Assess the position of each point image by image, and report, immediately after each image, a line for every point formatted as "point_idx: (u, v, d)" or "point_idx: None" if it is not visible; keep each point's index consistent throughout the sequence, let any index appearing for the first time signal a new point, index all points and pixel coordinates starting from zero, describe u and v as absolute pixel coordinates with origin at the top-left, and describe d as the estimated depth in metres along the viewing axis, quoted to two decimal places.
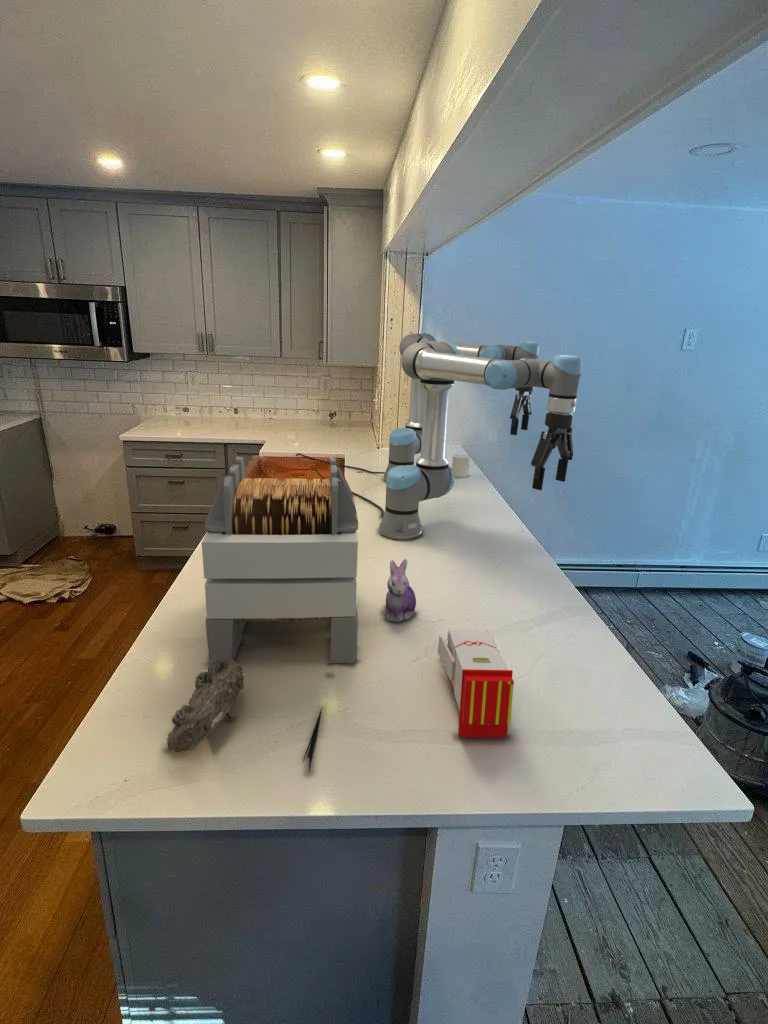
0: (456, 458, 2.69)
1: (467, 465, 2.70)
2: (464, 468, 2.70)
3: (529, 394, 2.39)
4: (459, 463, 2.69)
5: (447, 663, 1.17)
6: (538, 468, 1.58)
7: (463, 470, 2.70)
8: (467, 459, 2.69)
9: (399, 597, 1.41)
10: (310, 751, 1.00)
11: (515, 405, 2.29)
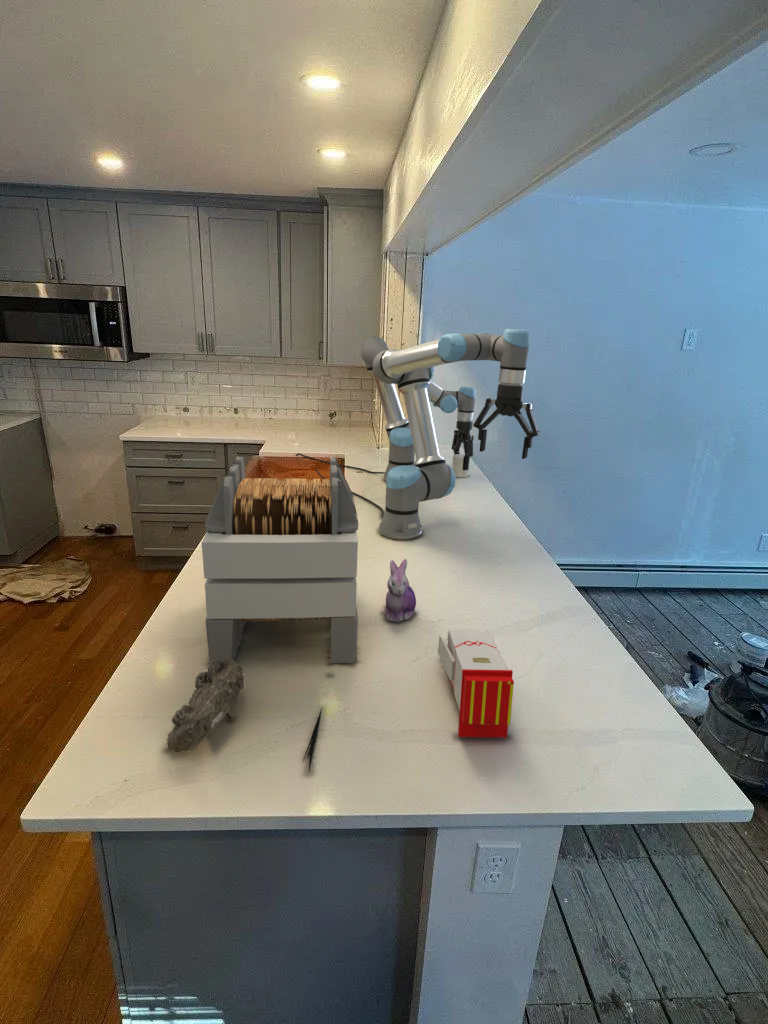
0: (456, 458, 2.69)
1: None
2: None
3: None
4: (459, 463, 2.69)
5: (447, 663, 1.17)
6: (532, 437, 1.68)
7: (463, 470, 2.70)
8: None
9: (399, 597, 1.41)
10: (310, 751, 1.00)
11: (469, 445, 2.63)
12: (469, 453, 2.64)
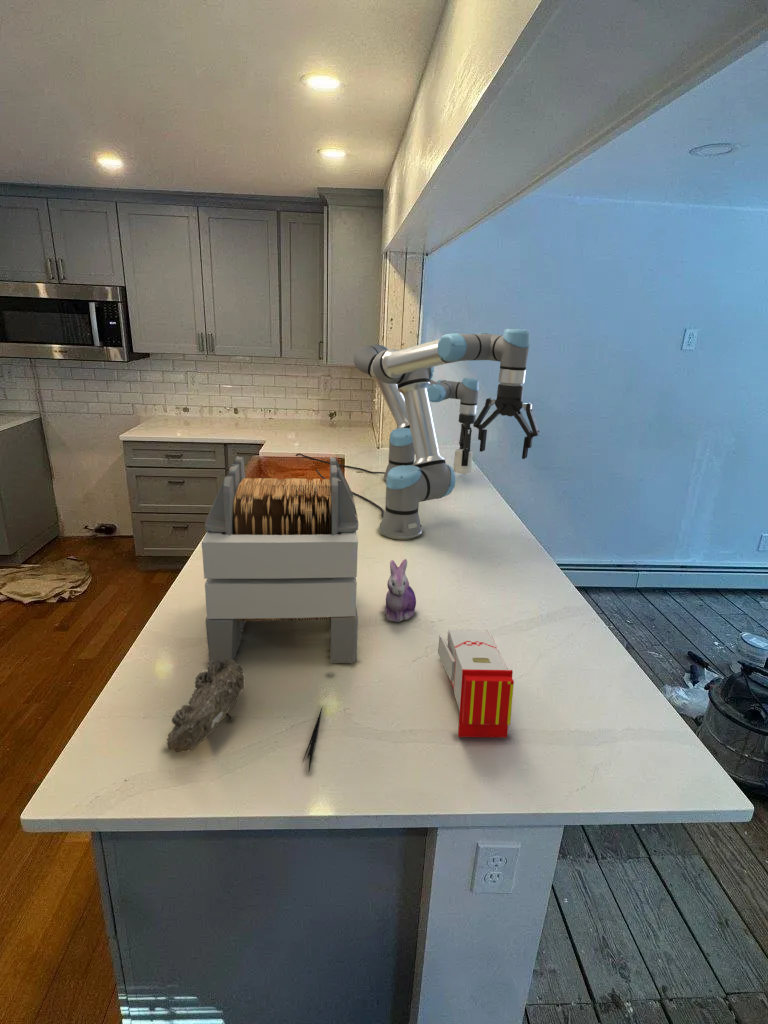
0: (456, 452, 2.57)
1: None
2: None
3: None
4: (458, 458, 2.56)
5: (447, 663, 1.17)
6: (532, 437, 1.68)
7: (462, 466, 2.57)
8: None
9: (399, 597, 1.41)
10: (310, 751, 1.00)
11: (466, 440, 2.49)
12: (465, 448, 2.50)
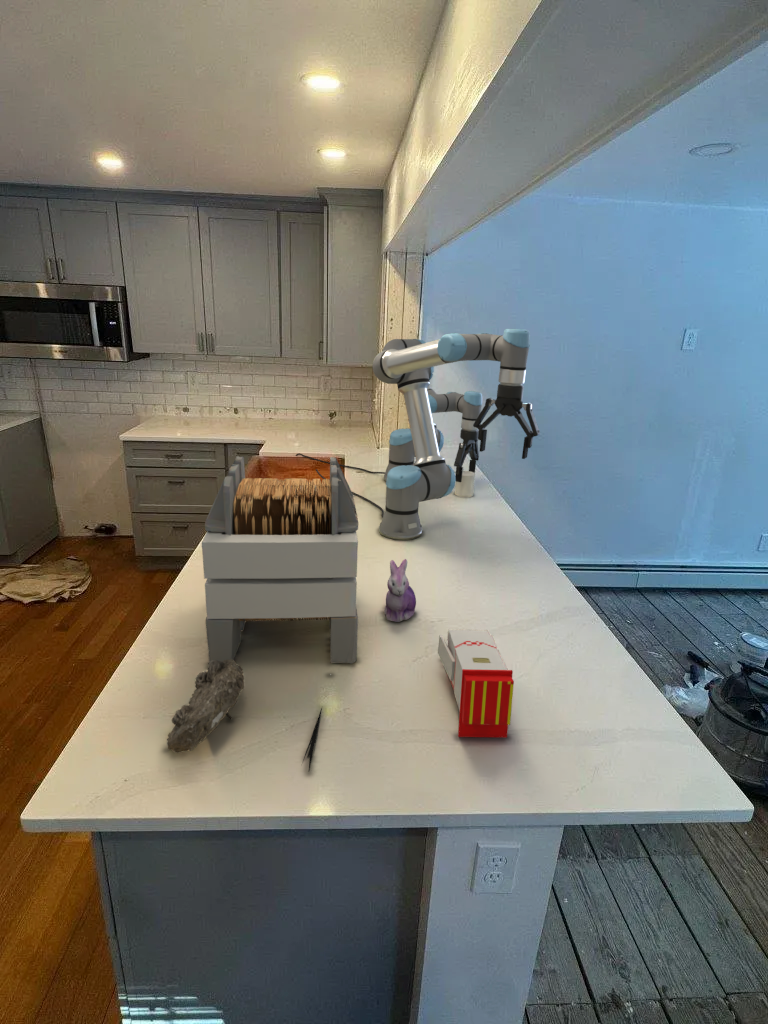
0: None
1: (464, 484, 2.41)
2: (459, 486, 2.42)
3: (475, 441, 2.43)
4: None
5: (447, 663, 1.17)
6: (532, 437, 1.68)
7: (458, 488, 2.42)
8: (463, 477, 2.40)
9: (399, 597, 1.41)
10: (310, 751, 1.00)
11: (458, 453, 2.34)
12: (455, 462, 2.34)
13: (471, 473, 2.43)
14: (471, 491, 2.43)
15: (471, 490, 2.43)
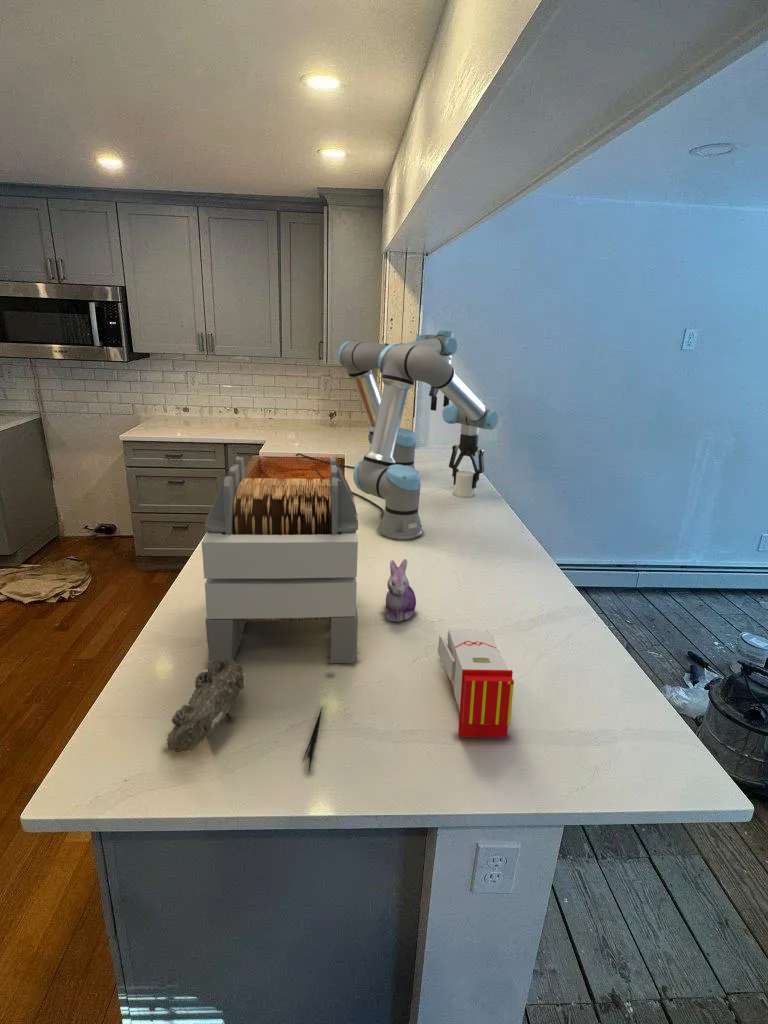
0: (456, 473, 2.44)
1: (464, 484, 2.41)
2: (459, 486, 2.42)
3: None
4: (456, 479, 2.43)
5: (447, 663, 1.17)
6: (479, 473, 2.40)
7: (458, 488, 2.42)
8: (463, 477, 2.40)
9: (399, 597, 1.41)
10: (310, 751, 1.00)
11: None
12: (430, 392, 2.69)
13: (471, 473, 2.43)
14: (471, 491, 2.43)
15: (471, 490, 2.43)
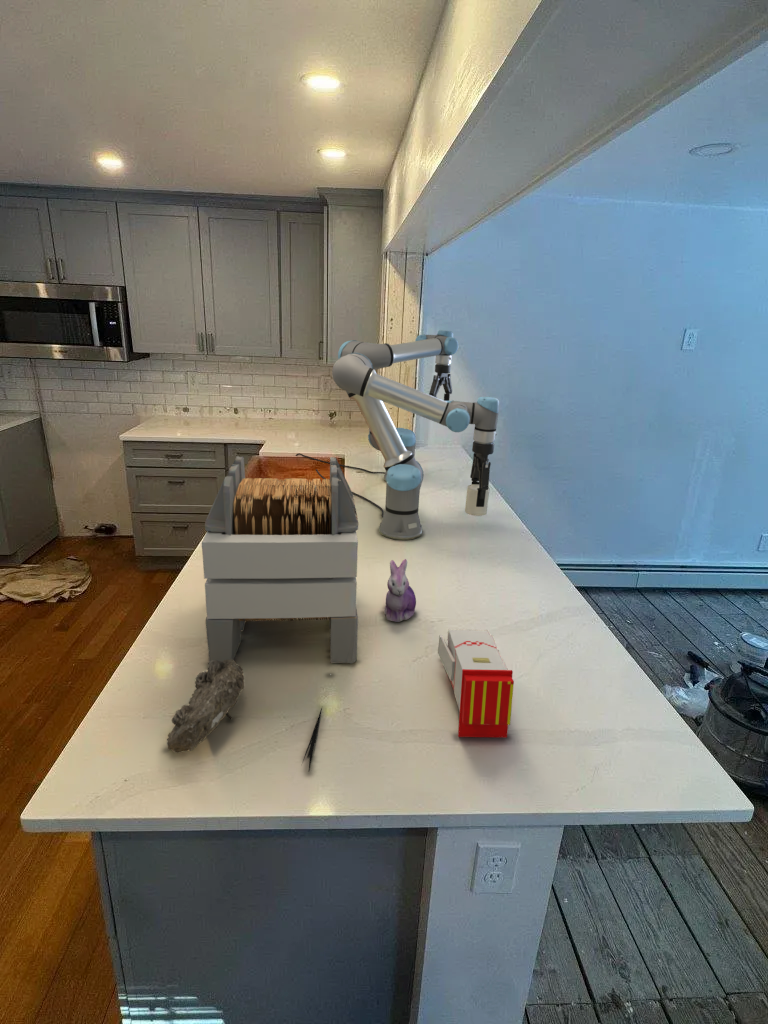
0: None
1: (468, 498, 2.06)
2: (466, 500, 2.08)
3: (448, 376, 2.78)
4: None
5: (447, 663, 1.17)
6: (484, 490, 2.00)
7: None
8: (468, 490, 2.05)
9: (399, 597, 1.41)
10: (310, 751, 1.00)
11: (433, 384, 2.69)
12: (430, 392, 2.69)
13: None
14: (476, 509, 2.05)
15: (476, 508, 2.05)
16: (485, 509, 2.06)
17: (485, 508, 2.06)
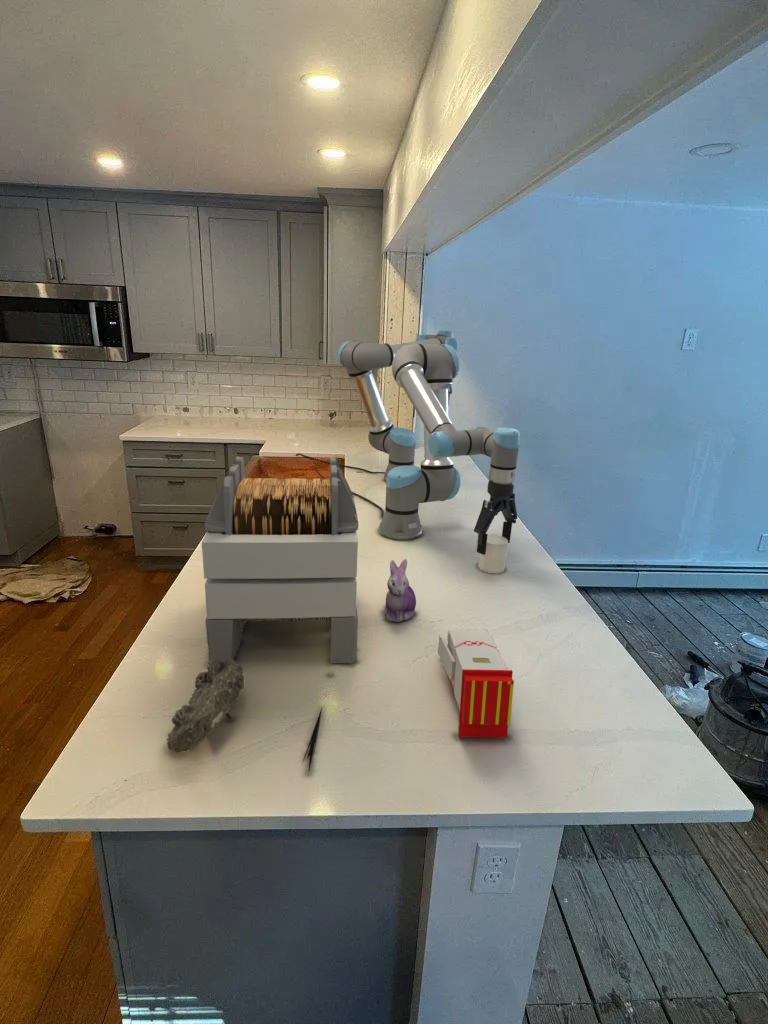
0: None
1: None
2: None
3: None
4: None
5: (447, 663, 1.17)
6: (481, 534, 1.66)
7: None
8: None
9: (399, 597, 1.41)
10: (310, 751, 1.00)
11: None
12: None
13: (494, 542, 1.71)
14: (482, 563, 1.74)
15: (482, 561, 1.74)
16: (493, 566, 1.72)
17: (493, 565, 1.72)
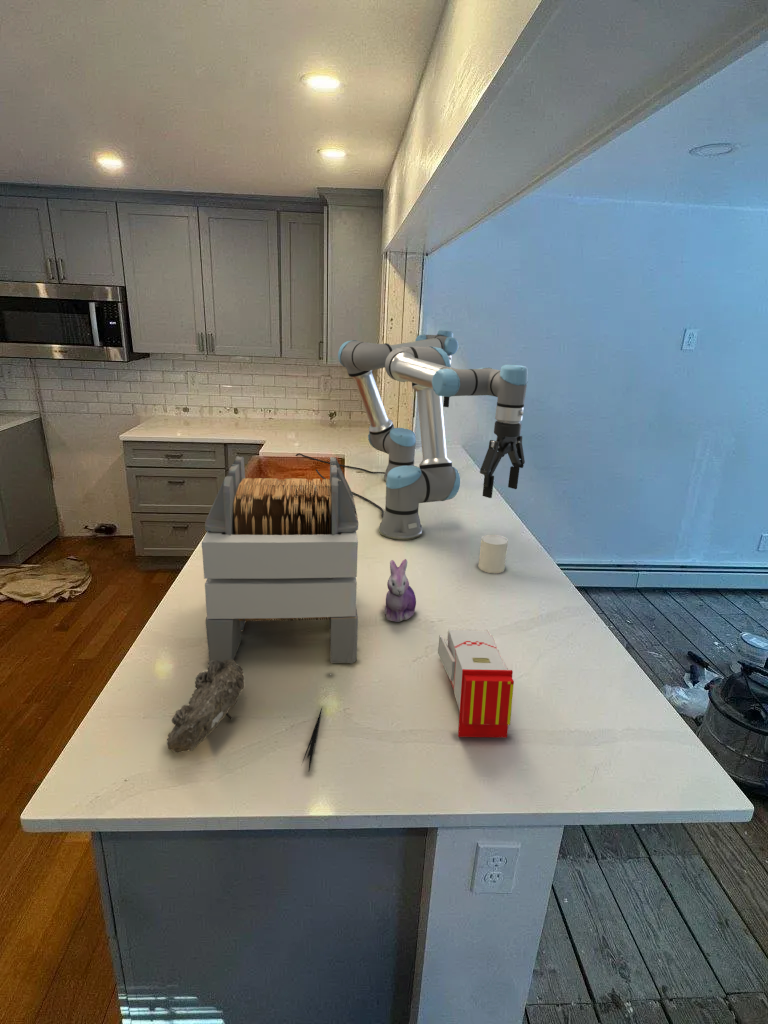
0: None
1: None
2: None
3: None
4: None
5: (447, 663, 1.17)
6: (487, 476, 1.60)
7: None
8: None
9: (399, 597, 1.41)
10: (310, 751, 1.00)
11: None
12: None
13: (494, 542, 1.71)
14: (482, 563, 1.74)
15: (482, 561, 1.74)
16: (493, 566, 1.72)
17: (493, 565, 1.72)
